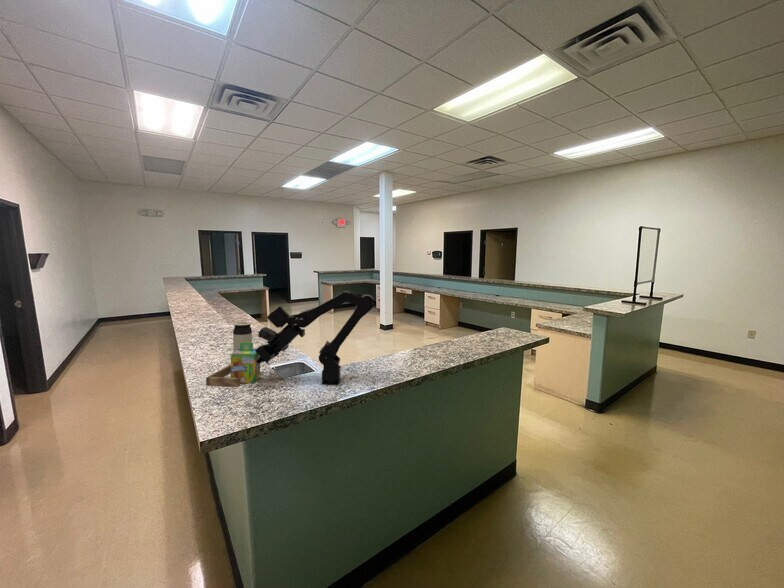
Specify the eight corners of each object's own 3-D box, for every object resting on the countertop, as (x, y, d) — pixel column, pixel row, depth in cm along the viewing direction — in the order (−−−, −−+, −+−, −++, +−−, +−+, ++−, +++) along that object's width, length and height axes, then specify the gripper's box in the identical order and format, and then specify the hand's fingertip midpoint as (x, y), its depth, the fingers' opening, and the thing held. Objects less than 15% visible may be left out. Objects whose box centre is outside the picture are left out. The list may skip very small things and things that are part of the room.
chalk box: (230, 384, 120) (229, 346, 118) (236, 376, 129) (236, 340, 127) (256, 383, 122) (255, 345, 120) (261, 375, 131) (260, 340, 129)
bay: (257, 373, 133) (257, 366, 133) (238, 387, 118) (238, 379, 117) (229, 371, 133) (229, 365, 133) (206, 385, 118) (206, 377, 118)
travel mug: (244, 363, 145) (244, 325, 144) (229, 362, 147) (229, 323, 145) (255, 358, 153) (255, 322, 151) (241, 357, 154) (240, 321, 153)
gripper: (281, 317, 132) (255, 342, 133) (260, 325, 113) (231, 354, 115) (299, 336, 132) (273, 361, 134) (282, 347, 114) (252, 376, 115)
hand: (258, 362), depth 124 cm, fingers closed
